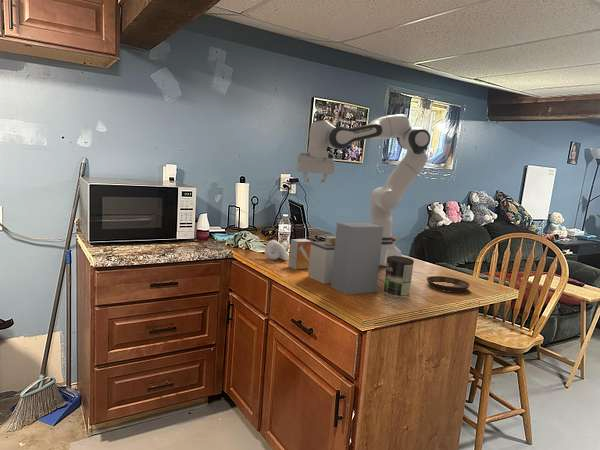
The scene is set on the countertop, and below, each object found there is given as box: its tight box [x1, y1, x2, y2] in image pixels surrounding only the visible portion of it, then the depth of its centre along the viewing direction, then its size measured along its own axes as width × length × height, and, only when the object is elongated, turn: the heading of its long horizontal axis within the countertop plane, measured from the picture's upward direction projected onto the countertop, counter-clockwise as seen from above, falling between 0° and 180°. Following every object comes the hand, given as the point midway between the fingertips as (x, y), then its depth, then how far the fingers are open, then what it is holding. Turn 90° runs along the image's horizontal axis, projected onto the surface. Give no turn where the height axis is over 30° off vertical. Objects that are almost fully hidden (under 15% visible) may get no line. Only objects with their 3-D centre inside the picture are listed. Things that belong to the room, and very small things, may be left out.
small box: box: [288, 238, 313, 270], centre depth 196 cm, size 8×6×13 cm
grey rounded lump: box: [264, 239, 289, 261], centre depth 210 cm, size 11×12×9 cm
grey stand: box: [330, 222, 383, 295], centre depth 166 cm, size 15×10×26 cm, turn 120°
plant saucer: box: [426, 275, 471, 293], centre depth 182 cm, size 18×18×3 cm
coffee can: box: [382, 256, 415, 299], centre depth 166 cm, size 10×10×14 cm
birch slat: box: [325, 235, 336, 245], centre depth 182 cm, size 19×4×3 cm, turn 120°
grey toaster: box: [307, 241, 335, 285], centre depth 181 cm, size 18×12×15 cm, turn 120°
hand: (314, 182), depth 207 cm, fingers open, 8 cm apart
